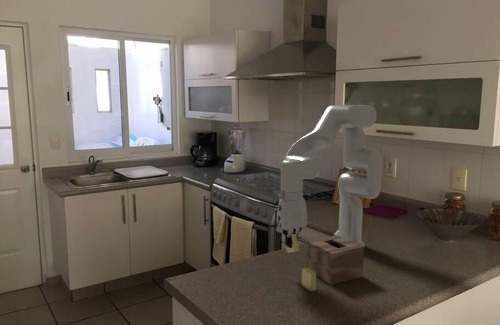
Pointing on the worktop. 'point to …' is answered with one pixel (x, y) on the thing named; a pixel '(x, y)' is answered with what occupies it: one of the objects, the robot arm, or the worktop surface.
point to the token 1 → (293, 244)
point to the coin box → (335, 259)
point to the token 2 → (308, 279)
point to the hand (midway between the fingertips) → (291, 245)
